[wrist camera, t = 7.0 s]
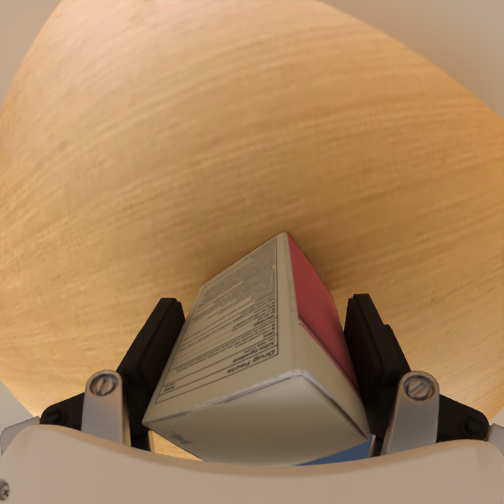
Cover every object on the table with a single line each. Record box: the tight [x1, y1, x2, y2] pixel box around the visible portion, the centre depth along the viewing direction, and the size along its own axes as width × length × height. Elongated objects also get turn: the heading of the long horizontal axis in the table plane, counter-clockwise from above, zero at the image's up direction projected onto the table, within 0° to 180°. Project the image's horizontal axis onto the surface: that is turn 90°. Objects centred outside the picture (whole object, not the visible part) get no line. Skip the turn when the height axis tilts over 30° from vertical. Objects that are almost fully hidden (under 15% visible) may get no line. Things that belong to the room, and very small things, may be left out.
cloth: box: [295, 433, 374, 466], centre depth 21 cm, size 10×16×1 cm, turn 4°
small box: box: [142, 232, 371, 466], centre depth 9 cm, size 5×4×8 cm
